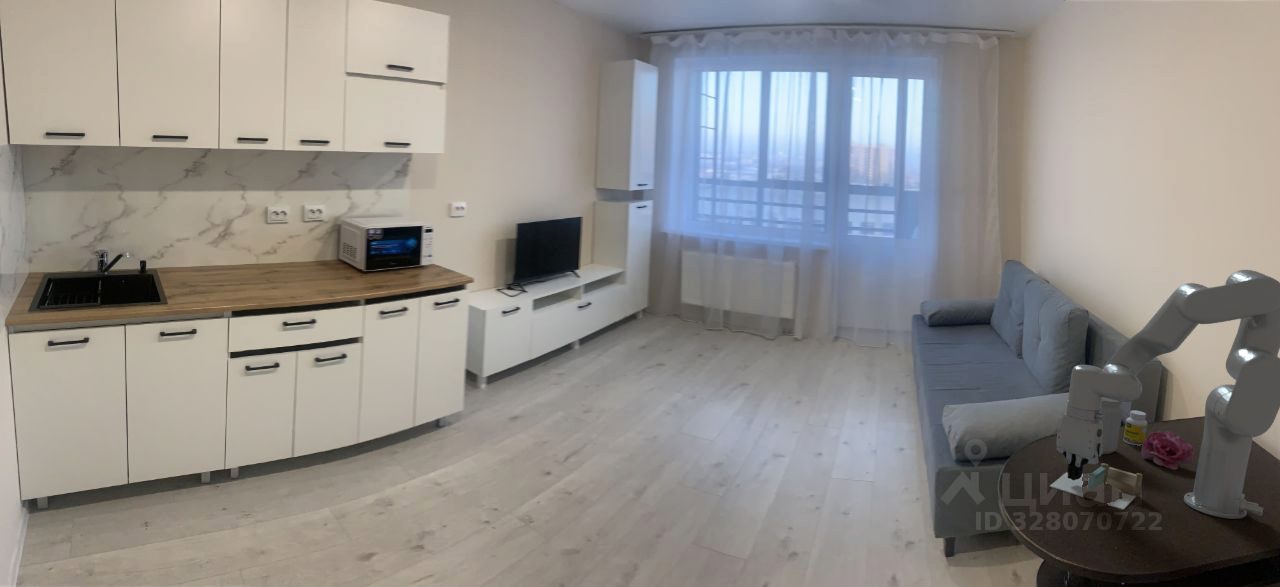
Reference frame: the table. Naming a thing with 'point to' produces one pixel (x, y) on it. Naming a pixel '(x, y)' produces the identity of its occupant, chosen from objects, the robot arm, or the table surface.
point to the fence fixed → (1123, 480)
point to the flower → (1167, 449)
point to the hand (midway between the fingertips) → (1073, 478)
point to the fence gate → (1096, 478)
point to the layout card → (1076, 489)
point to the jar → (1111, 424)
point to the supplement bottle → (1135, 428)
